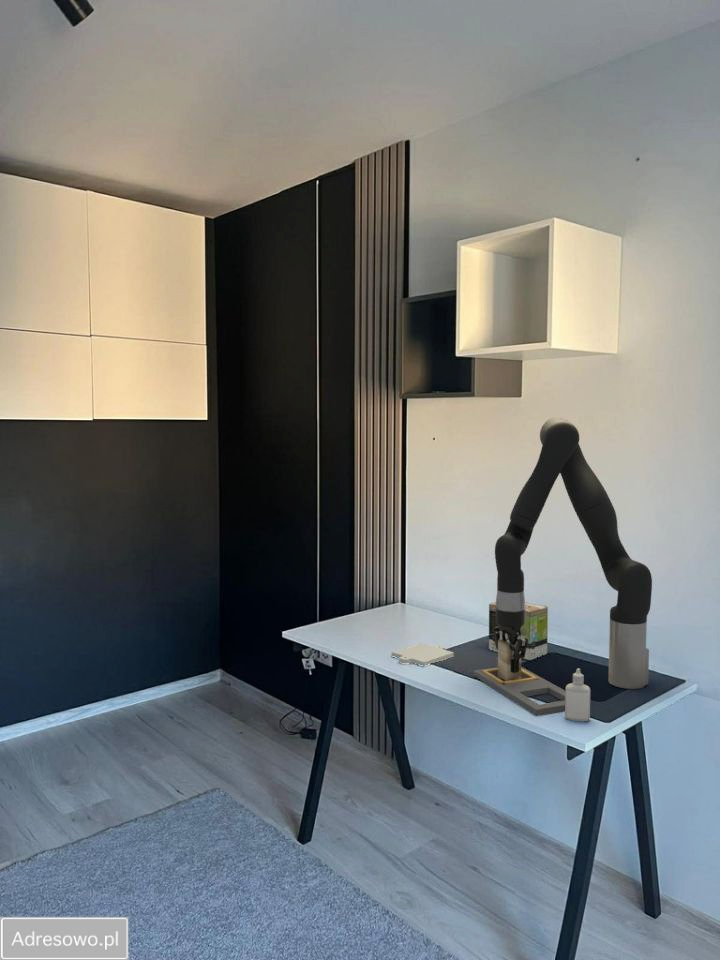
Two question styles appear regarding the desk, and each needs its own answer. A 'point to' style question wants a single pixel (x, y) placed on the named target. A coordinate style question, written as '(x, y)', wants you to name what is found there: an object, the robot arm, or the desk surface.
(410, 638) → the desk surface
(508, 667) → the plug
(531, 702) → the dock
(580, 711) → the eye dropper bottle
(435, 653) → the mounting plate
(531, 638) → the tea box
